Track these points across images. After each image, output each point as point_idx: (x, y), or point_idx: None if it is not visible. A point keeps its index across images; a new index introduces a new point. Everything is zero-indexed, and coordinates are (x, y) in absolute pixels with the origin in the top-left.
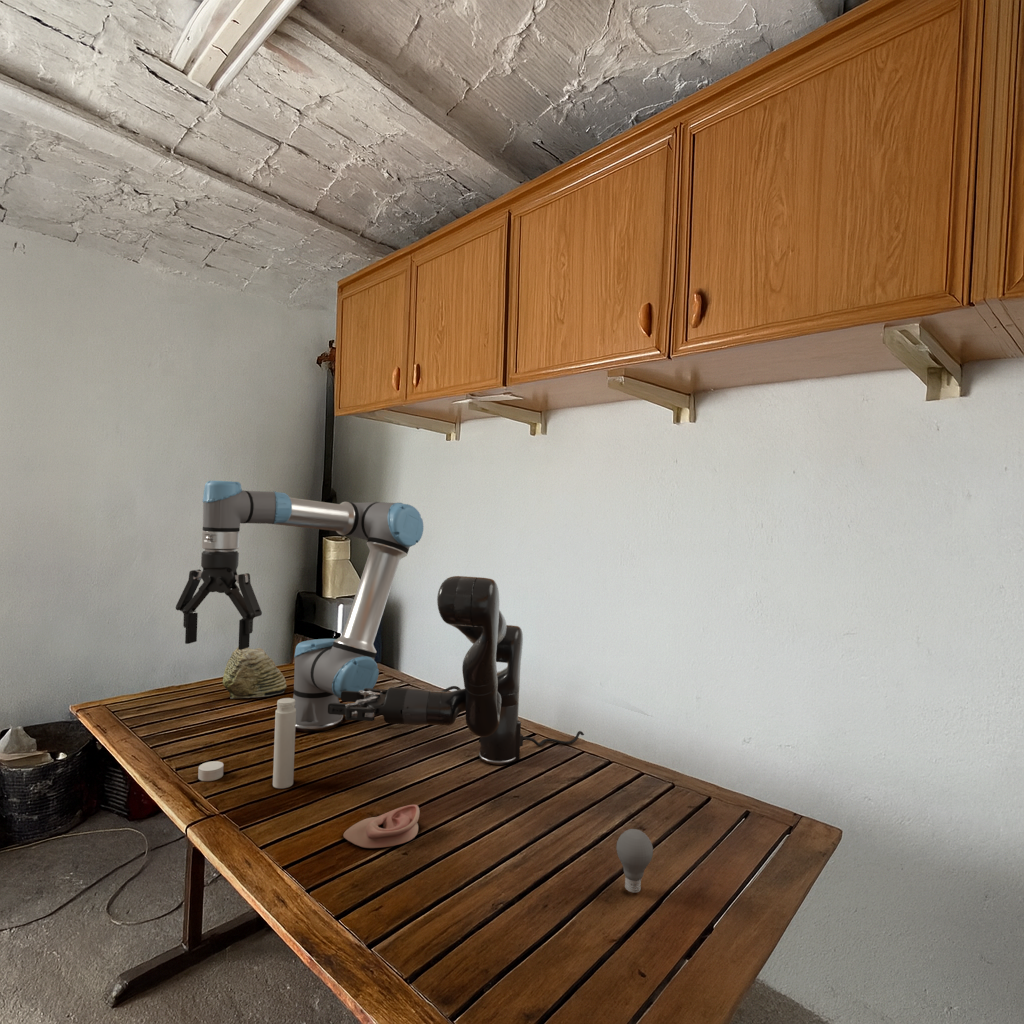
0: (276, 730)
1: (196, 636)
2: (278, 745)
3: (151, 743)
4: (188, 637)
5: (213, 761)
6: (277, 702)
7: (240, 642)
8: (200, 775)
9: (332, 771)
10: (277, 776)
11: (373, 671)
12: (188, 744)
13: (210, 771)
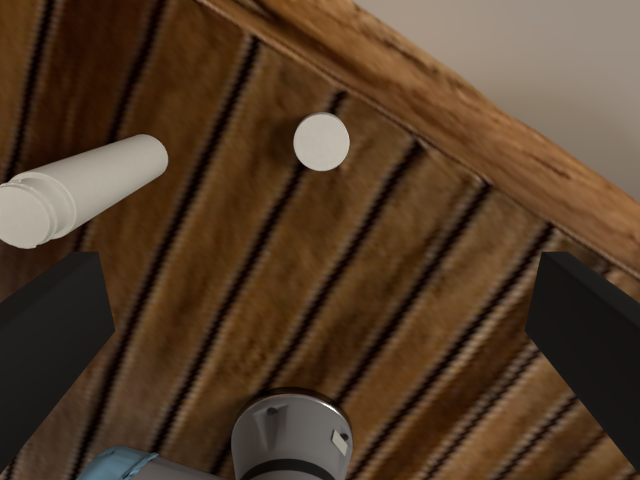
0: (81, 161)
1: (543, 350)
2: (94, 151)
3: (566, 244)
4: (569, 277)
5: (333, 166)
6: (39, 197)
7: (47, 275)
8: (329, 114)
9: (96, 244)
10: (132, 138)
11: None
12: (480, 265)
13: (305, 119)
